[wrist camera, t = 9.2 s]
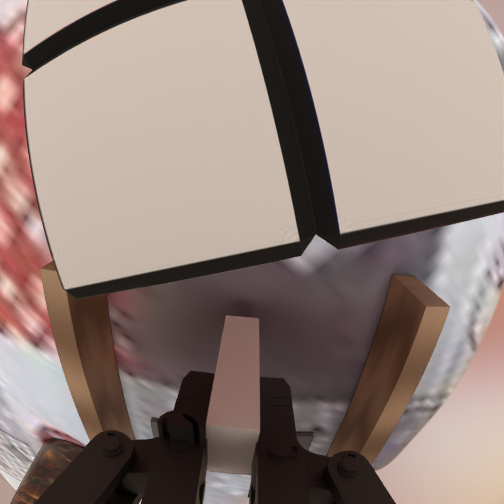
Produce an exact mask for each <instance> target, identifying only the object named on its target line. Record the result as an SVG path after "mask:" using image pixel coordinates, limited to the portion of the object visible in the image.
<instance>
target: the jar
mask: <svg viewBox="0 0 504 504" xmlns="http://www.w3.org/2000/svg"><path fill="white" fill-rule="evenodd" d="M83 449H84V448H82V447H80V446H78V445H75V444H73V443H70V442H67V441H64V440H60V439H48V440H47V441H46V442H45V443H44V444H43V446H42V447H41V449H40V451H39V452H38V454H37V456H36V457H35V459H34V461H33V462H32V464H31V466H30V468H29V469H28V471H27V473H26V475H25V476H24V478H23V480H22V482H21V484H20V486H19V487H18V489H17V491H16V493H15V495H14V497H13V499H12V502H11V503H10V504H34V503H35V502H36V500H37V499H38V498H39V497H40V496H41V495H42V494H43V493H44V492H45V491H46V490H47V488H48V487H49V486H50V485H51V484H52V483H53V482H54V481H55V480H56V479H57V477H58V476H59V475H60V474H61V473H62V472H63V471H64V470H65V469H66V467H67V466H68V465H69V464H70V463H71V462H72V461H73V460H74V459H75V458H76V456H77V455H78V454H79V453H80V452H81V451H82V450H83Z"/></svg>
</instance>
